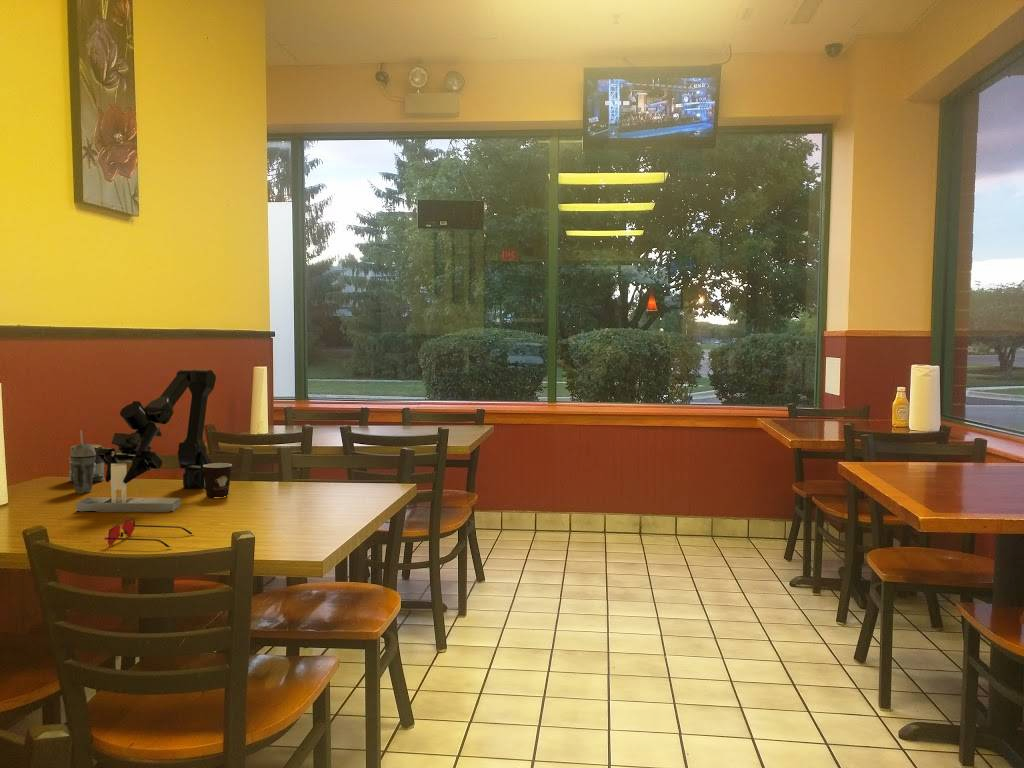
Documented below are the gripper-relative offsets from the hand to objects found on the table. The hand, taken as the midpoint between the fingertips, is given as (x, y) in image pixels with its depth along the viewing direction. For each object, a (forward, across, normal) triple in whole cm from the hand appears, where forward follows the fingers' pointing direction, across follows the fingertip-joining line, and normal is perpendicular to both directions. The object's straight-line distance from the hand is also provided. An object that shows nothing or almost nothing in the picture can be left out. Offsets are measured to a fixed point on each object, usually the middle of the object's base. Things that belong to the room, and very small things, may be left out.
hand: (115, 481), depth 229 cm
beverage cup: (-7, -27, +19) cm, 33 cm away
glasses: (+24, +32, -12) cm, 42 cm away
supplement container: (-18, -39, +30) cm, 52 cm away
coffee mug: (-12, +14, +24) cm, 31 cm away
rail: (+4, +3, +8) cm, 9 cm away
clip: (+4, 0, +6) cm, 7 cm away
